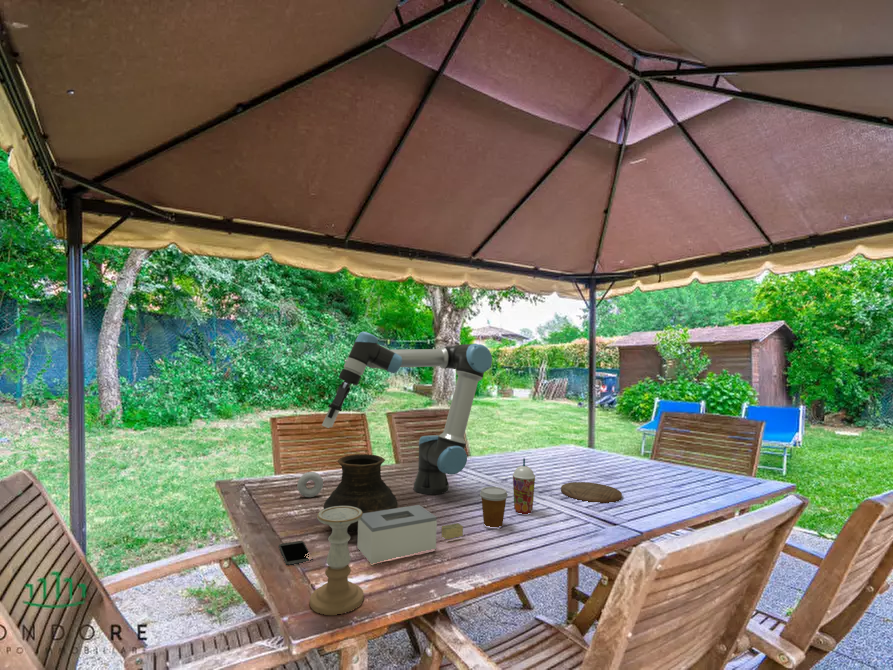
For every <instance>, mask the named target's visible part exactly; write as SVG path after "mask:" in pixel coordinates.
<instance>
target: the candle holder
mask: <svg viewBox="0 0 893 670" xmlns="http://www.w3.org/2000/svg"><path fill="white" fill-rule="evenodd" d="M362 516H363V512H362V510H361V509H359V508H356V507H352V506H334V507H329V508H326V509H324V508H323V509H321V510H320V511H319V512H318V513H317V516H316V518H317V522H319V523H321V524H324V525H326V526H329V527H330V528H331V534H330V535H329V536H328V538H327V539H328V542H329V543H330V546H329V550H328V554H327V557H326V560H325V561H326V564H327V566H328V567H327V568H326V569H325V571H324V574H325V576H326V577H327V582H326V583H324V584H322V585H321V586H319V587H317V588H316V589H315V590H314V591H313V592H312V593H311V595H310V597H309V606H310V608H311V610H312V611H314V612H315V613H317V614H319V613H320V615H323V614H324V615H323V616H338V615H337V614H341V615H343V614H342V613H345V612H348V613H350V612H349V611H351V610H353V609H355V608H356V607H358V606H359V605H360V604H361V603H362V604H363V602H364V598H365V592H364V590H363V588H362V587H361V586H359V585H358V584H355V583H353V582H351V581H349V579H348V578H349V577H348V576H349V575H350V574H351V572H352V568H351V566H349V563H350V562H351V559H352V557H351V553H350V551H349V550H350V549H349V543H348V542H349V541H350V540H351V535H350V534H349V533H348V529H347V528H348V526H349V525H350V524H351V523H354V522H357V521H359V520H360V519H361V518H362ZM362 601H363V602H362ZM362 604H361V605H362ZM361 605H360V606H361ZM360 606H359V607H360ZM359 607H358V608H359ZM356 609H357V608H356ZM356 609H355V610H356ZM353 611H354V610H353ZM351 612H352V611H351ZM345 614H346V613H345Z"/></svg>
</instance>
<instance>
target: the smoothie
mask: <svg viewBox="0 0 893 670" xmlns="http://www.w3.org/2000/svg"><path fill="white" fill-rule="evenodd" d="M522 461H523V463H522V464H523V465H520V466H518V467H517V468H516V469H515V470H514V472H513V474H512V484H513V485H512V487H513V488H512V489H513V491H512V492H513V508H514V510H515V513H516V512H518V513H522V514H528V513H531V514H532V511H533V510H534V509H533V508H534V507H533V506H534V495H535V484H536V483H535V482H536V475H535V473H534V471H533V470H532V469H531V467H529V466H528V465H526V458H525V457H523V459H522Z"/></svg>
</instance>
